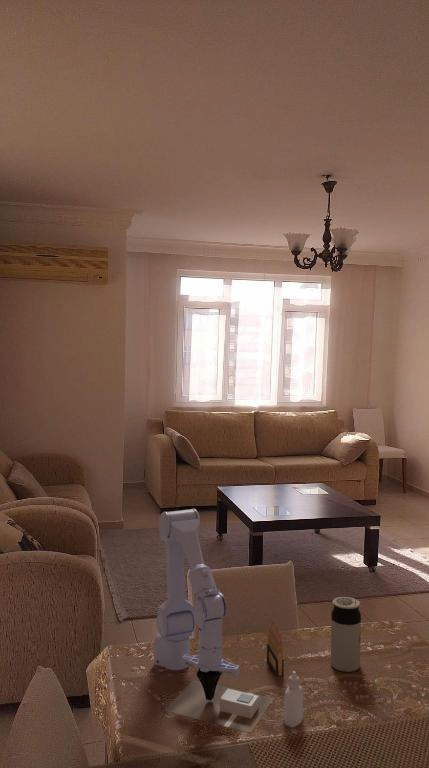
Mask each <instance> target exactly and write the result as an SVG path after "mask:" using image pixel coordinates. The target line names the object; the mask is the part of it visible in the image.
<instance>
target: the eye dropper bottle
mask: <svg viewBox="0 0 429 768" xmlns="http://www.w3.org/2000/svg"><path fill="white" fill-rule="evenodd" d="M291 673H292V674H291V675H289V677H288V686H287V687H286V689H285V692H284V697H283V698H284V699H283V702H284V703H283V705H284V706H283V707H284V708H283V724H284V725H285V726H287V727H289V728H295V727H297V726H299V725H300V724H301V723H302V721H303V718H304V687H303V686H302V685H300V677H299V676H298V675H297V673H296V671H295V670H293V671H292V672H291Z"/></svg>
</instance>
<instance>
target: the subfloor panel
mask: <svg viewBox="0 0 429 768" xmlns="http://www.w3.org/2000/svg"><path fill="white" fill-rule="evenodd" d="M227 689H231V690H236V691H240V692H244V693H249V694H253V695H257V696H259V708H258V709H257V711H256V712H255V714H254V715H253V717H252V718H247V717H243V716H239V715H235V714H231V713H227V712H223V711H220V698H221V697H222V695H223V694H224V693H225V692H226V690H227ZM273 700H274V698H273V697H270V696H264V695H261V694H256V693H251V692H248V691H244V690H239V689H234V688H230V687H226V686H223V685H218V684H217V686H216V689H215V694H214V698H213V699H212V700H211V701H210V700H206V697H205V693H204V690H203V687H202V684H201V682H200V680H196V679H193V680H191V681H190V683H189V684H188V685H187V686H186V687H185V688H184V689H183V690H182V691H181V692H180V694H178V695H177V696H176V698H175V699H173V701H172V702H170V703H169V705H168V706H167V707H166V708H164V712H167V713H170V714H175V715H178V716H183V717H186V718H189V719H195V720H197V721H202V722H206V723H208V724H209V723H210V724H212V725H213V724H214V725H217V726H220V727H225V728H228V729H232V730H237V731H241V732H245V733H249V734H252V732H253V730H254V729H255V727H256V726H257V724H258V723H259V721H260V719H261V718H262V717H263V716H264V713H265V712H266V710H268V708H269V706H270V705H271V703H272V702H273Z"/></svg>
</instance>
